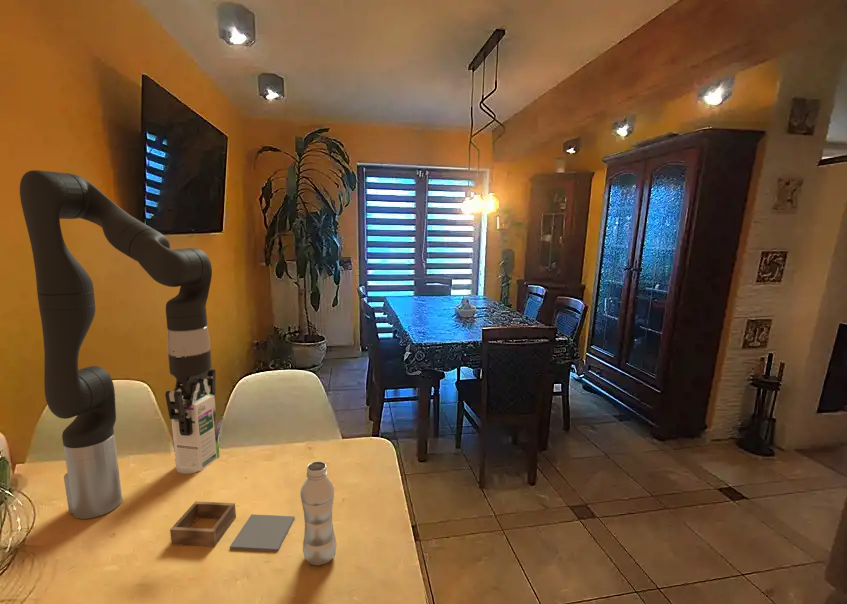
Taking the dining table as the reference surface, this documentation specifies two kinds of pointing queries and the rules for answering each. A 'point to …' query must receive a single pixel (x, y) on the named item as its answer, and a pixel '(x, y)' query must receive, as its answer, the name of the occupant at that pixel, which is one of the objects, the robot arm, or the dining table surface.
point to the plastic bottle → (318, 515)
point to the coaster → (263, 533)
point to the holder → (201, 536)
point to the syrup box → (198, 436)
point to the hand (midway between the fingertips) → (195, 426)
